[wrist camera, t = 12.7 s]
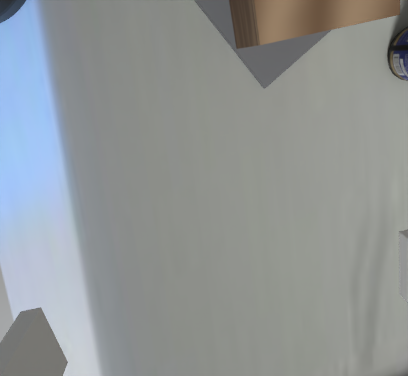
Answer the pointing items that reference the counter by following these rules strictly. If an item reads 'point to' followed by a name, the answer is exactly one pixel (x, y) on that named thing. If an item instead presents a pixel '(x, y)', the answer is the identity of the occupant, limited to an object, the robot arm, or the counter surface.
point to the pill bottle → (399, 55)
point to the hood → (301, 17)
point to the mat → (263, 54)
